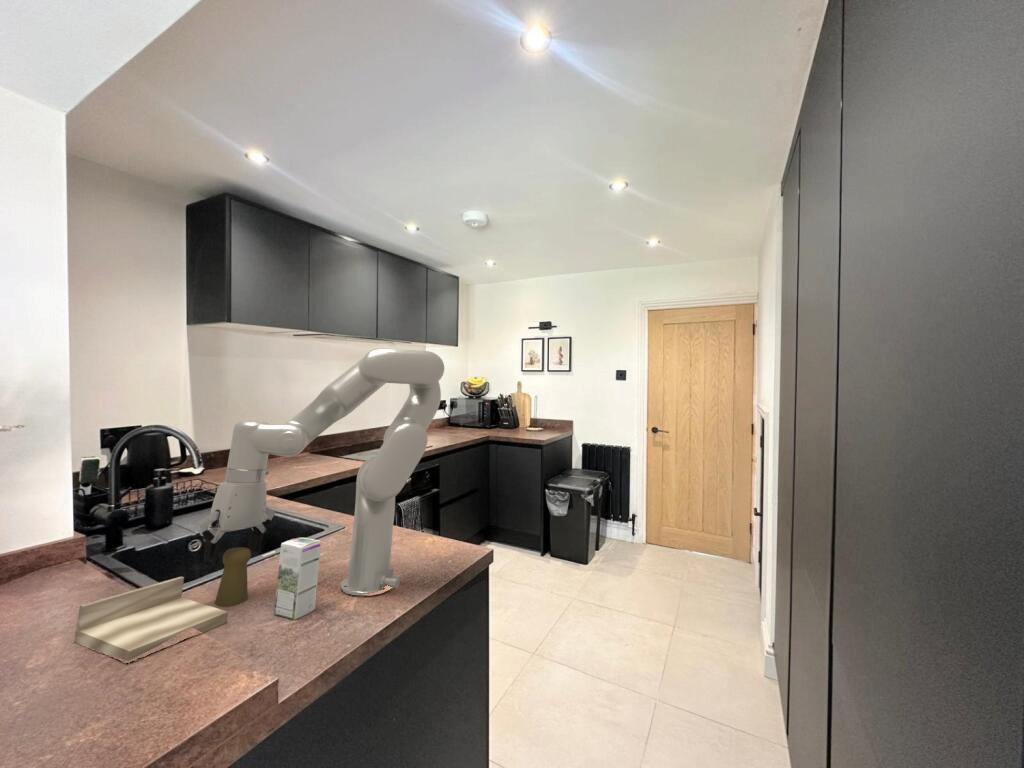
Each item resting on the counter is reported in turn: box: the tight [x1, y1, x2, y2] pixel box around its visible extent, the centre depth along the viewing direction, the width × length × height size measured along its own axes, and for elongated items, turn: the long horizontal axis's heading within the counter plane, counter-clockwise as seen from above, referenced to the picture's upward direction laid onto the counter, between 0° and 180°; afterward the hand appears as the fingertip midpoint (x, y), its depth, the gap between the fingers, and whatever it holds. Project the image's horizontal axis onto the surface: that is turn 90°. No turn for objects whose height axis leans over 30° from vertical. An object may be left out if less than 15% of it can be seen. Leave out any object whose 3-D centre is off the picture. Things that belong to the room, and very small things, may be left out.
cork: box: [214, 546, 252, 607], centre depth 91 cm, size 6×6×11 cm
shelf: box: [73, 576, 229, 661], centre depth 76 cm, size 15×16×6 cm
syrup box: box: [273, 536, 322, 621], centre depth 87 cm, size 6×6×14 cm
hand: (232, 555), depth 91 cm, fingers open, 9 cm apart
